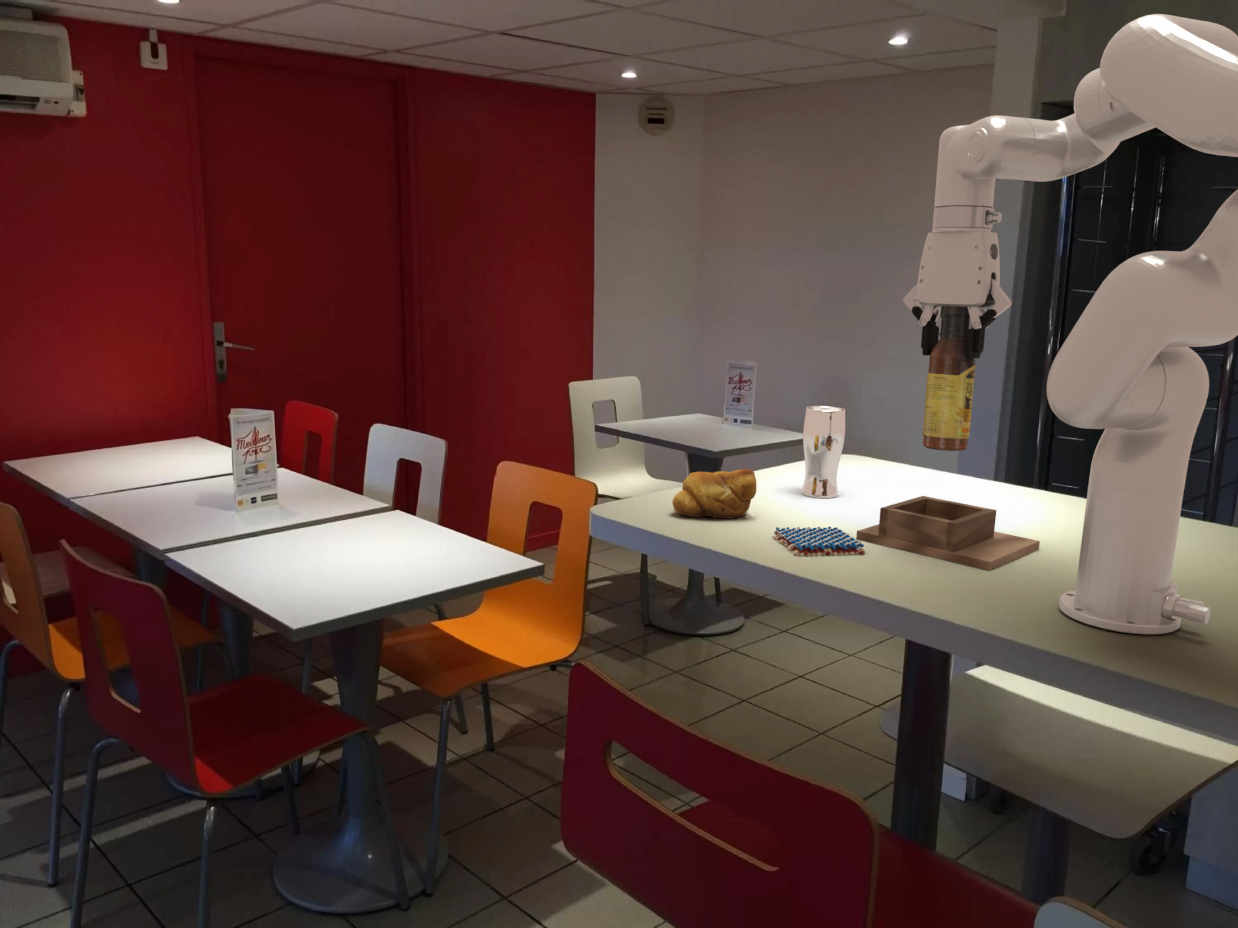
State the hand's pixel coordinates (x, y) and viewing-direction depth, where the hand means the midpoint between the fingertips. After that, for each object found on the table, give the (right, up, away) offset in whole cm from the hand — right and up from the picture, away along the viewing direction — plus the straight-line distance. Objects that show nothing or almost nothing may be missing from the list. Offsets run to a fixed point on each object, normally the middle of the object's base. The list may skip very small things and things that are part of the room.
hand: (951, 355), depth 139 cm
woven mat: (-18, -27, +3) cm, 33 cm away
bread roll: (-31, -23, +19) cm, 43 cm away
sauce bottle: (0, -13, +2) cm, 13 cm away
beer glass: (-11, -20, +35) cm, 42 cm away
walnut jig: (+1, -27, +6) cm, 27 cm away
